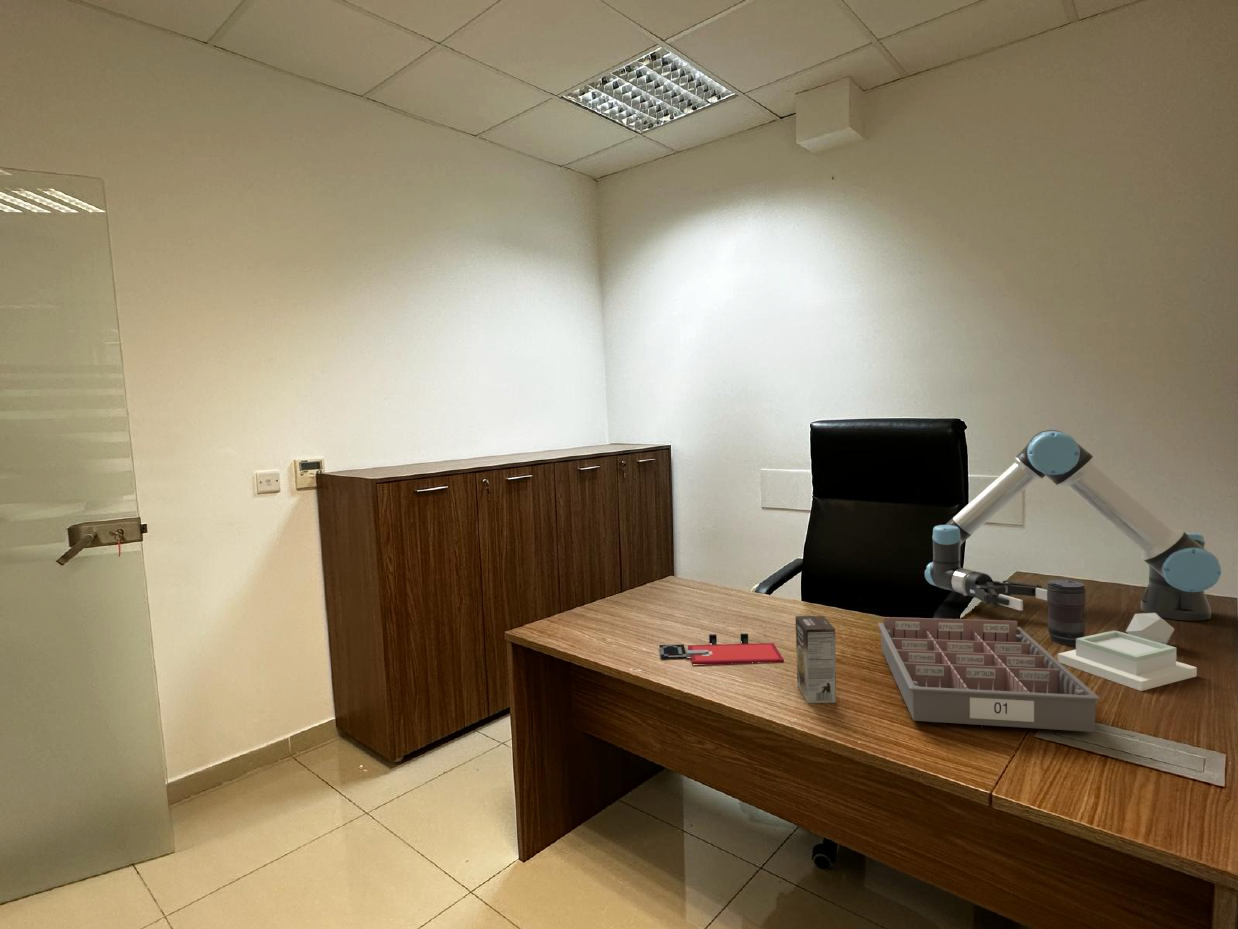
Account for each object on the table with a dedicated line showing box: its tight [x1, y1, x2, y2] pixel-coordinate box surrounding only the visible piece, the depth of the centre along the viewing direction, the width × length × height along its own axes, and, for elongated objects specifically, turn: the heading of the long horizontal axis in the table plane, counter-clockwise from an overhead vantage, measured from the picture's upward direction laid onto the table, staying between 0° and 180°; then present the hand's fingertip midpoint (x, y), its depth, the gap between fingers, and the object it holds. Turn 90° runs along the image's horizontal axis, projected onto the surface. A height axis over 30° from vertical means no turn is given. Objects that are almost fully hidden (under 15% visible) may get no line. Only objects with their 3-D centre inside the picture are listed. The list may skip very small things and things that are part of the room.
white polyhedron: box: [1125, 612, 1175, 645], centre depth 161 cm, size 8×9×10 cm
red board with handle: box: [658, 633, 785, 665], centre depth 168 cm, size 30×3×15 cm
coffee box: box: [795, 615, 837, 704], centre depth 141 cm, size 9×6×16 cm
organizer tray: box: [877, 616, 1102, 733], centre depth 140 cm, size 32×40×10 cm
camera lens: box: [1046, 579, 1087, 646], centre depth 166 cm, size 8×8×15 cm
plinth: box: [1057, 630, 1198, 692], centre depth 147 cm, size 18×18×6 cm
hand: (1041, 602), depth 172 cm, fingers open, 13 cm apart
